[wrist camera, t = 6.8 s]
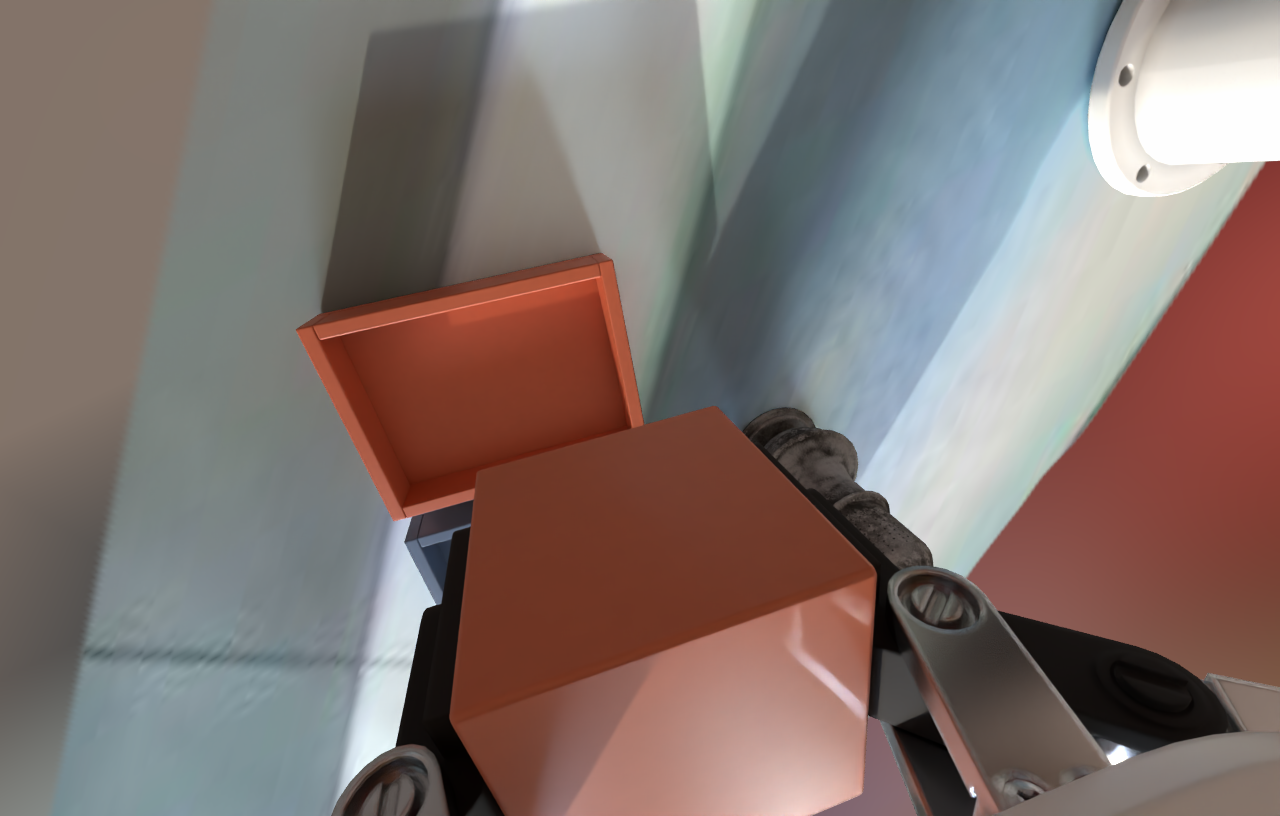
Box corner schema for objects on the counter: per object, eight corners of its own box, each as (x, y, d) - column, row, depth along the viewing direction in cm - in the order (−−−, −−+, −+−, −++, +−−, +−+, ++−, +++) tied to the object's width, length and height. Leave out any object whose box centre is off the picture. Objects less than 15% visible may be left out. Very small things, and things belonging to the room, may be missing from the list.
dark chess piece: (724, 419, 27) (864, 568, 16) (819, 390, 28) (1012, 515, 17) (735, 502, 29) (861, 677, 19) (821, 474, 30) (989, 627, 20)
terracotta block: (716, 403, 10) (881, 569, 6) (735, 577, 12) (865, 795, 8) (475, 469, 9) (444, 722, 5) (542, 642, 11) (563, 923, 7)
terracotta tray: (602, 252, 22) (612, 259, 19) (637, 427, 26) (649, 450, 24) (318, 313, 20) (294, 329, 18) (404, 491, 24) (393, 522, 22)
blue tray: (641, 446, 26) (653, 470, 24) (666, 569, 30) (678, 599, 28) (413, 510, 25) (403, 542, 22) (471, 632, 29) (468, 668, 26)
